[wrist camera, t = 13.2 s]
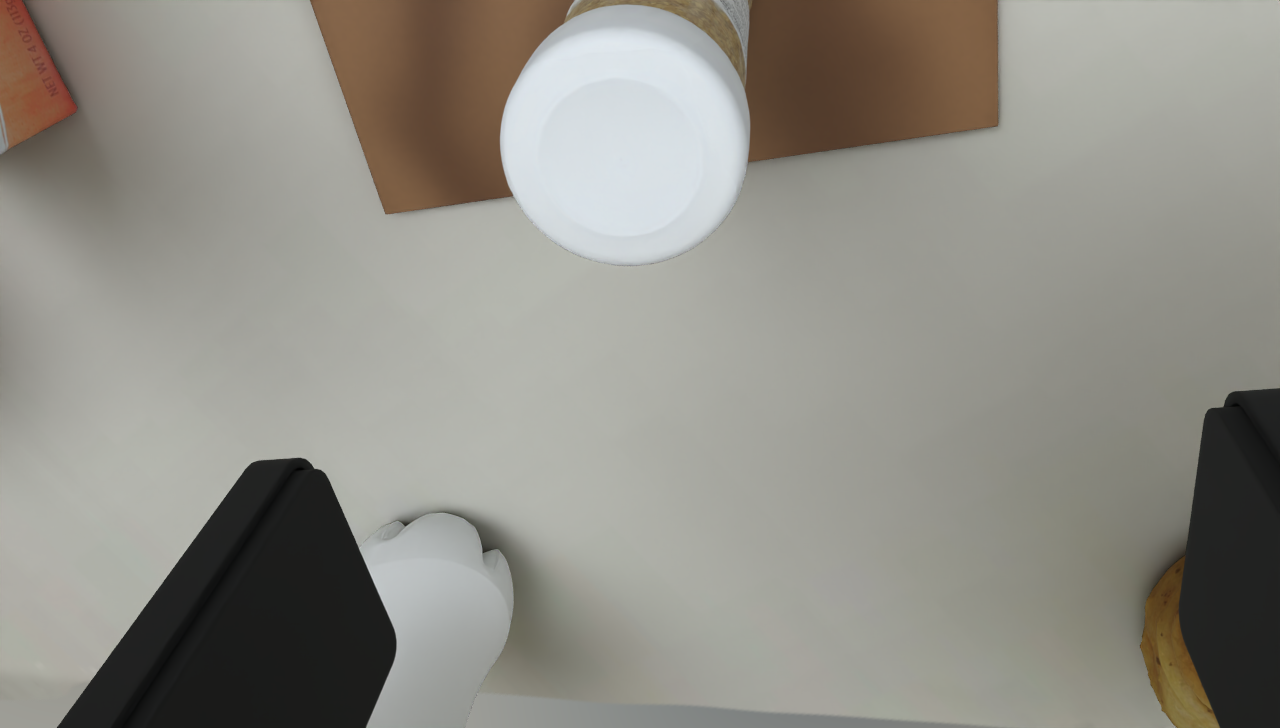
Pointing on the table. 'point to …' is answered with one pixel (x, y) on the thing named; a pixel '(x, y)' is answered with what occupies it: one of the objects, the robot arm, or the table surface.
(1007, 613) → the table surface
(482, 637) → the water bottle
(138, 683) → the robot arm
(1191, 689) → the bread roll
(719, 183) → the spice jar
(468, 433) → the table surface
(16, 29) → the cracker box
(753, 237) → the table surface
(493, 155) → the wooden board
